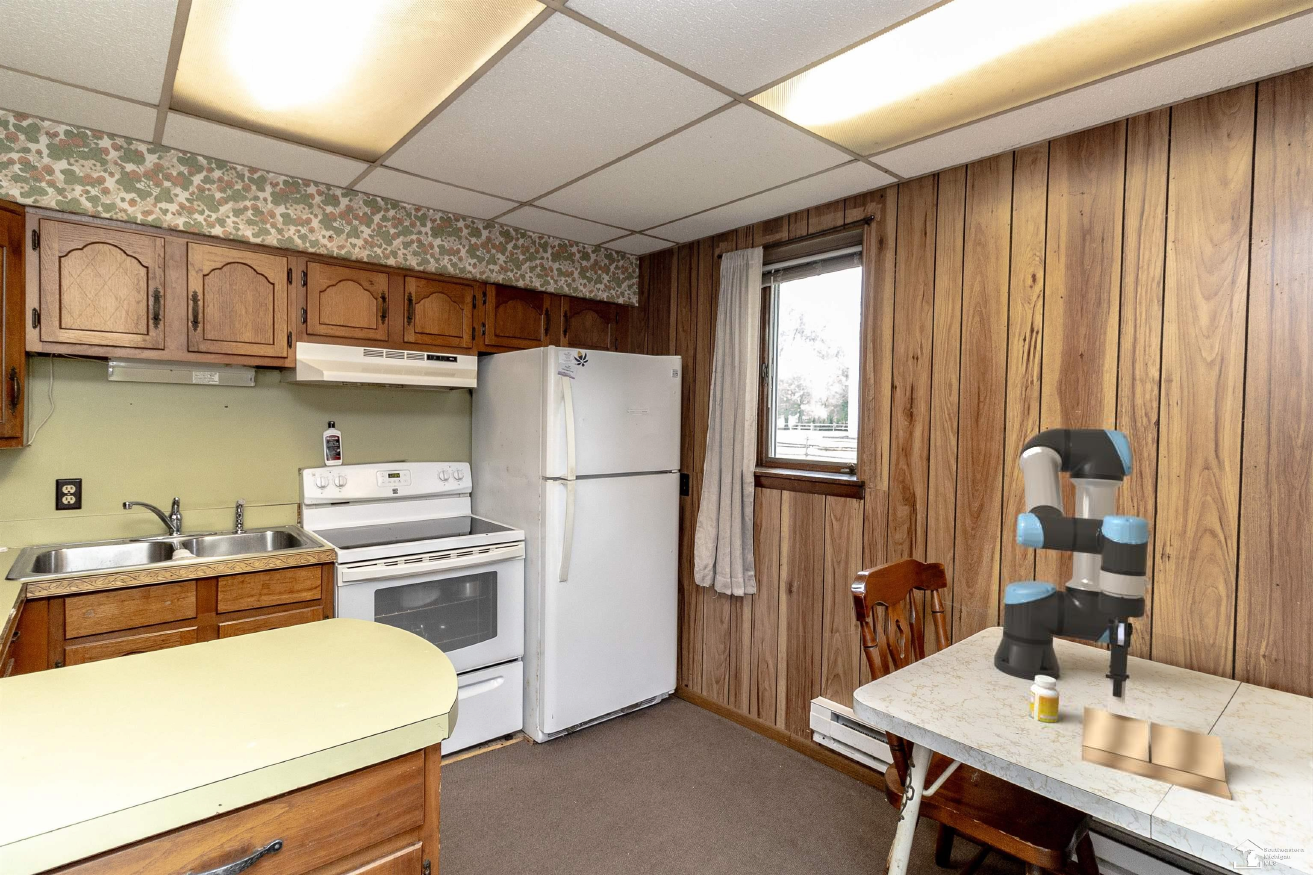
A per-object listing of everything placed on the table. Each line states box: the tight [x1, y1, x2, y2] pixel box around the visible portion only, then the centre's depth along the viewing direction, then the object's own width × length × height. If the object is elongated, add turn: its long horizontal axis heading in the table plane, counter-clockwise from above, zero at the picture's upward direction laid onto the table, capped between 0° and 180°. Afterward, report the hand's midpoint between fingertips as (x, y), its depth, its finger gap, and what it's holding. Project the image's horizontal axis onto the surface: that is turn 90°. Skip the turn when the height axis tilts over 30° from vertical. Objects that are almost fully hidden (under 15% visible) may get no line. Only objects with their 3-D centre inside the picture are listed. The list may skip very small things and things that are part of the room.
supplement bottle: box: [1028, 675, 1060, 724], centre depth 143 cm, size 5×5×10 cm
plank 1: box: [1081, 706, 1150, 763], centre depth 130 cm, size 10×9×1 cm
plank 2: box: [1149, 721, 1227, 783], centre depth 123 cm, size 10×9×1 cm
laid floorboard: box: [1081, 745, 1232, 801], centre depth 121 cm, size 22×5×1 cm, turn 56°
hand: (1115, 710), depth 131 cm, fingers closed
